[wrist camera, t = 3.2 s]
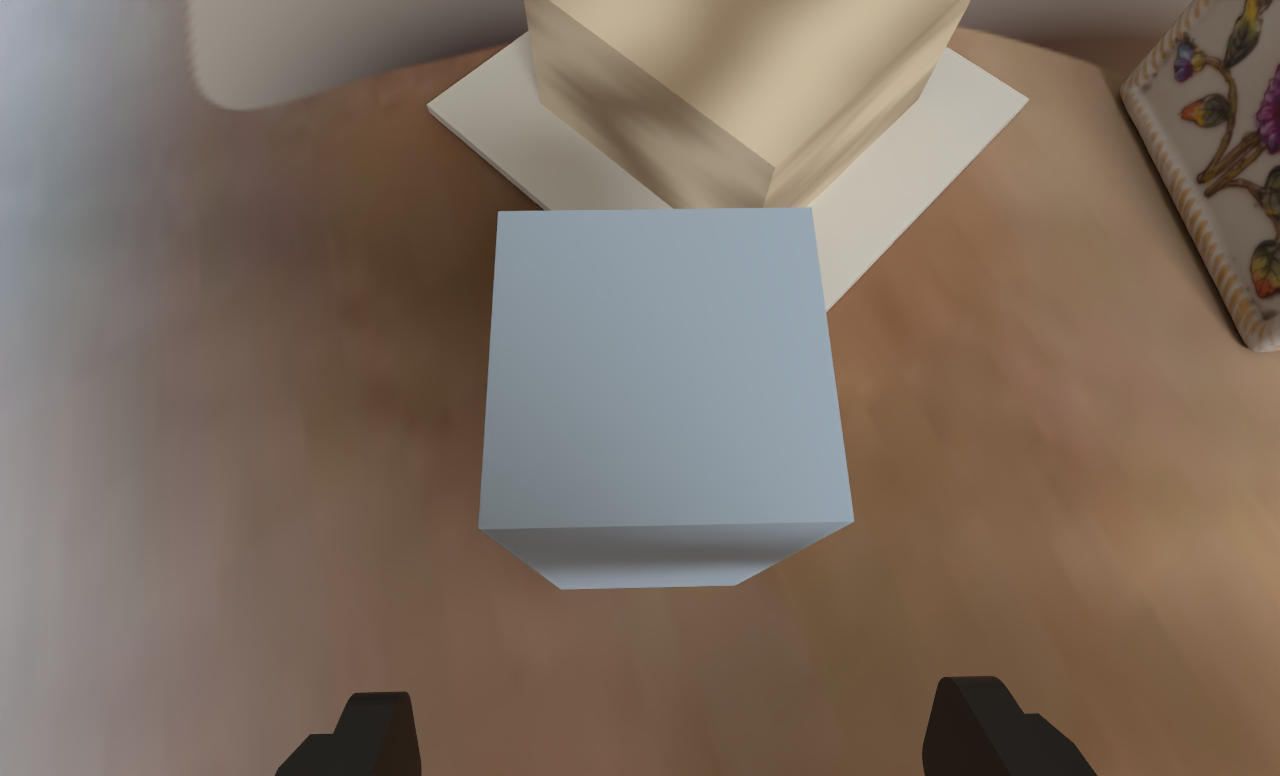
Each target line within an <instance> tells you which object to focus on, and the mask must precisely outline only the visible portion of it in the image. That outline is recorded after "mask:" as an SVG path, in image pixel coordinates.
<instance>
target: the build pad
mask: <svg viewBox="0 0 1280 776" xmlns="http://www.w3.org/2000/svg"><path fill="white" fill-rule="evenodd" d="M1028 100H1029V99H1028V98H1027V97H1025V96H1024V95H1022V94H1021V93H1019V92H1017V91H1016V90H1014V89H1013V88H1011V87H1009V86H1008V85H1006V84H1005V83H1003V82H1002V81H1000V80H998V79H997V78H995V77H994V76H992V75H991V74H989V73H987V72H986V71H984V70H983V69H981V68H979V67H978V66H976V65H975V64H973V63H972V62H970V61H968V60H967V59H965V58H964V57H962V56H961V55H959V54H957V53H956V52H954V51H953V50H951V49H949V48H948V47H946V48H945V50H944V52H943V53H942V55H941V57H940V59H939V61H938V63H937V65H936V67H935V69H934V70H933V72H932V74H931V76H930V78H929V80H928V82H927V84H926V86H925V87H924V89H923V91H922V93H921V95H920V97H919V99H918V100H917V101H916V102H915V103H914V104H913V105H912V106H911V107H910V108H909V109H908V110H907V111H906V112H905V113H904V114H903V115H902V116H901V117H900V118H899V119H898V120H897V121H896V122H895V123H894V124H892V125H891V126H890V127H889V128H888V129H887V130H886V131H885V132H884V133H883V134H882V135H881V136H880V137H879V138H878V139H877V140H876V141H875V142H874V143H873V144H872V145H871V146H870V147H869V148H868V149H867V150H865V151H864V152H863V153H862V154H861V155H860V156H859V157H858V158H857V159H856V160H855V161H854V162H853V163H852V164H851V165H850V166H849V167H848V168H847V169H846V170H845V171H844V172H843V173H842V174H841V175H840V176H838V177H837V178H836V179H835V180H834V181H833V182H832V183H831V184H830V185H829V186H828V187H827V188H826V189H825V190H824V191H823V192H822V193H821V194H820V195H819V196H818V197H817V198H816V199H815V200H814V201H813V202H811V203H810V204H809V205H808V206H807V207H812V214H813V221H814V228H815V236H816V243H817V250H818V258H819V265H820V272H821V280H822V287H823V294H824V302H825V309H826V312H827V311H828V310H829V309H830V308H831V307H832V306H833V305H834V304H835V303H836V302H837V301H838V300H839V299H840V298H841V297H842V296H843V295H844V294H845V293H846V292H847V291H848V290H849V288H850V287H851V286H852V285H853V284H854V283H855V282H856V281H857V280H858V279H859V278H860V277H861V276H862V275H863V274H864V273H865V272H866V271H867V270H868V269H869V268H870V267H871V266H872V264H873V263H874V262H875V261H876V260H877V259H878V258H879V257H880V256H881V255H882V254H883V253H884V252H885V251H886V250H887V249H888V248H889V247H890V246H891V245H892V244H893V243H894V242H895V240H896V239H897V238H898V237H899V236H900V235H901V234H902V233H903V232H904V231H905V230H906V229H907V228H908V227H909V226H910V225H911V224H912V223H913V222H914V221H915V220H916V219H917V218H918V217H919V215H920V214H921V213H922V212H923V211H924V210H925V209H926V208H927V207H928V206H929V205H930V204H931V203H932V202H933V201H934V200H935V199H936V198H937V197H938V196H939V195H940V194H941V193H942V191H943V190H944V189H945V188H946V187H947V186H948V185H949V184H950V183H951V182H952V181H953V180H954V179H955V178H956V177H957V176H958V175H959V174H960V173H961V172H962V171H963V170H964V169H965V167H966V166H967V165H968V164H969V163H970V162H971V161H972V160H973V159H974V158H975V157H976V156H977V155H978V154H979V153H980V152H981V151H982V150H983V149H984V148H985V147H986V146H987V145H988V144H989V142H990V141H991V140H992V139H993V138H994V137H995V136H996V135H997V134H998V133H999V132H1000V131H1001V130H1002V129H1003V128H1004V127H1005V126H1006V125H1007V124H1008V123H1009V122H1010V121H1011V120H1012V118H1013V117H1014V116H1015V115H1016V114H1017V113H1018V112H1019V111H1020V110H1021V109H1022V108H1023V107H1024V106H1025V104H1026V103H1027V102H1028ZM426 105H427V108H428V110H429V113H430V114H432V115H433V116H434V117H435V118H436V119H438V120H439V121H440V122H441V123H442V124H443V125H445V126H446V127H447V128H448V129H449V130H450V131H452V132H453V133H454V134H455V135H456V136H458V137H459V138H460V139H461V140H462V141H463V142H465V143H466V144H467V145H468V146H469V147H470V148H472V149H473V150H474V151H475V152H476V153H478V154H479V155H480V156H481V157H482V158H483V159H485V160H486V161H487V162H488V163H489V164H490V165H492V166H493V167H494V168H495V169H496V170H498V171H499V172H500V173H501V174H502V175H503V176H505V177H506V178H507V179H508V180H509V181H511V182H512V183H513V184H514V185H515V186H516V187H518V188H519V189H520V190H521V191H522V192H523V193H525V194H526V195H527V196H528V197H529V198H531V199H532V200H533V201H534V202H535V203H536V204H538V205H539V206H540V207H541V208H542V209H543V210H545V211H557V210H637V209H673V208H672V207H670V206H669V205H668V204H667V203H665V202H664V201H663V200H662V199H660V198H659V197H658V196H657V195H655V194H654V193H653V192H651V191H650V190H649V189H648V188H646V187H645V186H644V185H643V184H641V183H640V182H639V181H638V180H636V179H635V178H634V177H633V176H631V175H630V174H629V173H628V172H626V171H625V170H624V169H623V168H621V167H620V166H619V165H618V164H616V163H615V162H614V161H613V160H611V159H610V158H609V157H608V156H606V155H605V154H604V153H602V152H601V151H600V150H599V149H597V148H596V147H595V146H594V145H592V144H591V143H590V142H589V141H587V140H586V139H585V138H584V137H582V136H581V135H580V134H579V133H577V132H576V131H575V130H574V129H572V128H571V127H570V126H569V125H567V124H566V123H565V122H564V121H562V120H561V119H560V118H559V117H557V116H556V115H555V114H553V113H552V112H551V111H550V110H548V109H547V108H546V107H545V106H543V105H542V104H541V101H540V95H539V89H538V83H537V77H536V71H535V65H534V59H533V53H532V47H531V41H530V35H529V31H527V32H526V33H525V34H523V35H522V36H521V37H519V38H518V39H516V40H515V41H514V42H512V43H511V44H509V45H508V46H507V47H505V48H504V49H503V50H501V51H500V52H498V53H497V54H496V55H494V56H493V57H491V58H490V59H489V60H487V61H486V62H485V63H483V64H482V65H480V66H479V67H478V68H476V69H475V70H473V71H472V72H471V73H469V74H468V75H467V76H465V77H464V78H462V79H461V80H460V81H458V82H457V83H456V84H454V85H453V86H451V87H450V88H449V89H447V90H446V91H444V92H443V93H442V94H440V95H439V96H438V97H436V98H435V99H433V100H432V101H431V102H429V103H428V104H426Z"/></svg>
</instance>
